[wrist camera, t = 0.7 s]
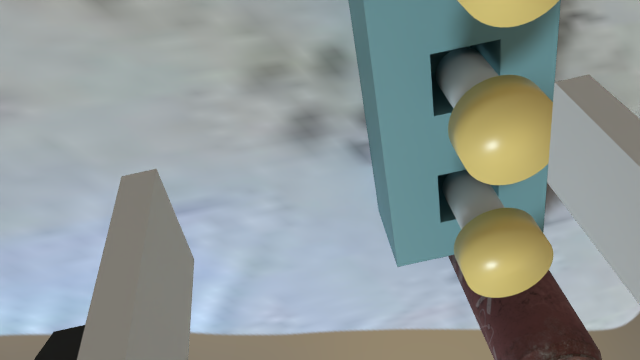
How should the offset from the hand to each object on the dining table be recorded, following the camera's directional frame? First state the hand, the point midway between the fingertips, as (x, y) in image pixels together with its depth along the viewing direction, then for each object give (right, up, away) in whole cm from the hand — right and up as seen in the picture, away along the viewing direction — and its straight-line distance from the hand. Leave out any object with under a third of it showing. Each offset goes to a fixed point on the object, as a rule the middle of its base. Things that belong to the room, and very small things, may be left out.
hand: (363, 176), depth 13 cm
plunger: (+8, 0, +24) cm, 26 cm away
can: (+12, -5, +34) cm, 37 cm away
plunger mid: (+7, +6, +20) cm, 22 cm away
